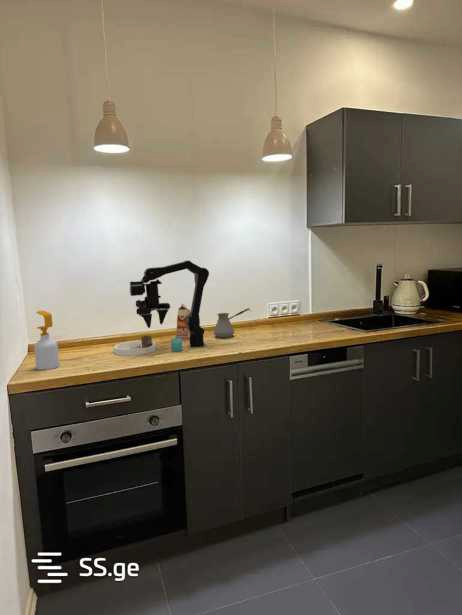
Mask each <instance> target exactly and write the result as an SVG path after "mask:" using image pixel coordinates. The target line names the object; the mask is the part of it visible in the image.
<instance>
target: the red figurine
mask: <svg viewBox="0 0 462 615" xmlns="http://www.w3.org/2000/svg"><path fill="white" fill-rule="evenodd" d="M190 312H191V309H189V308H188V307H187V306H186V305H185V304H183V303H181V306H179V308H178V309H177V316H176V328H175V329H176V331H175V336H174V338H182V342H190V339H189V337H190V334H191V332H190V330H189V329H187V328H186V324H185V323H184V322H185V320H186V315H187V316H189V314H190Z"/></svg>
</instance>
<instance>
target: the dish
mask: <svg viewBox="0 0 462 615" xmlns="http://www.w3.org/2000/svg"><path fill="white" fill-rule="evenodd" d="M157 349H158V345H157V342H155V341H154V340H152V346H149V347H146V348H142V342H141V340H131V341H125V342H121V343H117V344H115V345H114V346H113V353H114V354H115V355H117V356H124V357H131V356H132V357H133V356H134V357H135V356H141V355H148V354H150V353H154V352H156V351H157Z"/></svg>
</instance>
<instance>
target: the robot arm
mask: <svg viewBox="0 0 462 615" xmlns="http://www.w3.org/2000/svg"><path fill="white" fill-rule="evenodd" d="M184 270H188V271H189V272H190V273H192V274H193V275H194V291H193V296H192V302H191V307H190V314H189V316H187V315H186V320H185V322H184V323H185V324H186V328H187V329H189V330H190V332H191V334H190V337H189V339H190V341H189V346H190V347H192V348H196V347H204V345H205V342H204V339H205V338H204V334H205V329H203V328H202V326H201V320H200V310H201V306H202V300H203V293H204V287H205V285H206V284H207V281H208V278H209V275H210V272H209V270H208V269H207V268H206V267H201V266H199V265H197V264H195V263H194V262H192V261H191V260H183V261H182V262H181V261H179V262H178V263H173V264H169V265H165V266H158V267H148V268H146V269H145V270H144V272H143V277H141V279H140V281H129V294H130V297H135V296H143V295H144V294H145V293H146V294H145V295H146V296H144V300H141V299H138V300H136V301H135V307H136V308H137V309H136V315H138V316H140V317H142V319H143V320H144V322H145V324H146V326H147V329H149V328H150V329H151V324H152V316H153V313H152V311H156V312H157V314H158V318H159V319H158V320H159V324H160V325H163V324H164V320H165V318H166V316H167V314H168V312H169V310H170V309H171V304H170V303H169V302H160V298H161V295H160V294H159V285H162V283H163V282H162V281H161V280H160V279H158V278H161V277H162V276H164V275H168V274H171V273H175V272H179V271H184ZM161 299H162V298H161Z"/></svg>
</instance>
